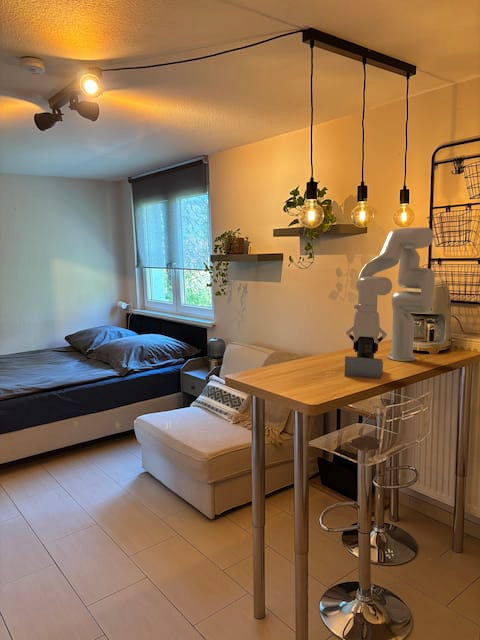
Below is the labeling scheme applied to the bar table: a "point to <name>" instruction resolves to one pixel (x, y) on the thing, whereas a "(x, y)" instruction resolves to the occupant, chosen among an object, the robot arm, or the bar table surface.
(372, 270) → the robot arm
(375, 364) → the shelf block
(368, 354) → the supplement bottle
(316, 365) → the bar table surface
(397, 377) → the bar table surface
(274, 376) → the bar table surface
